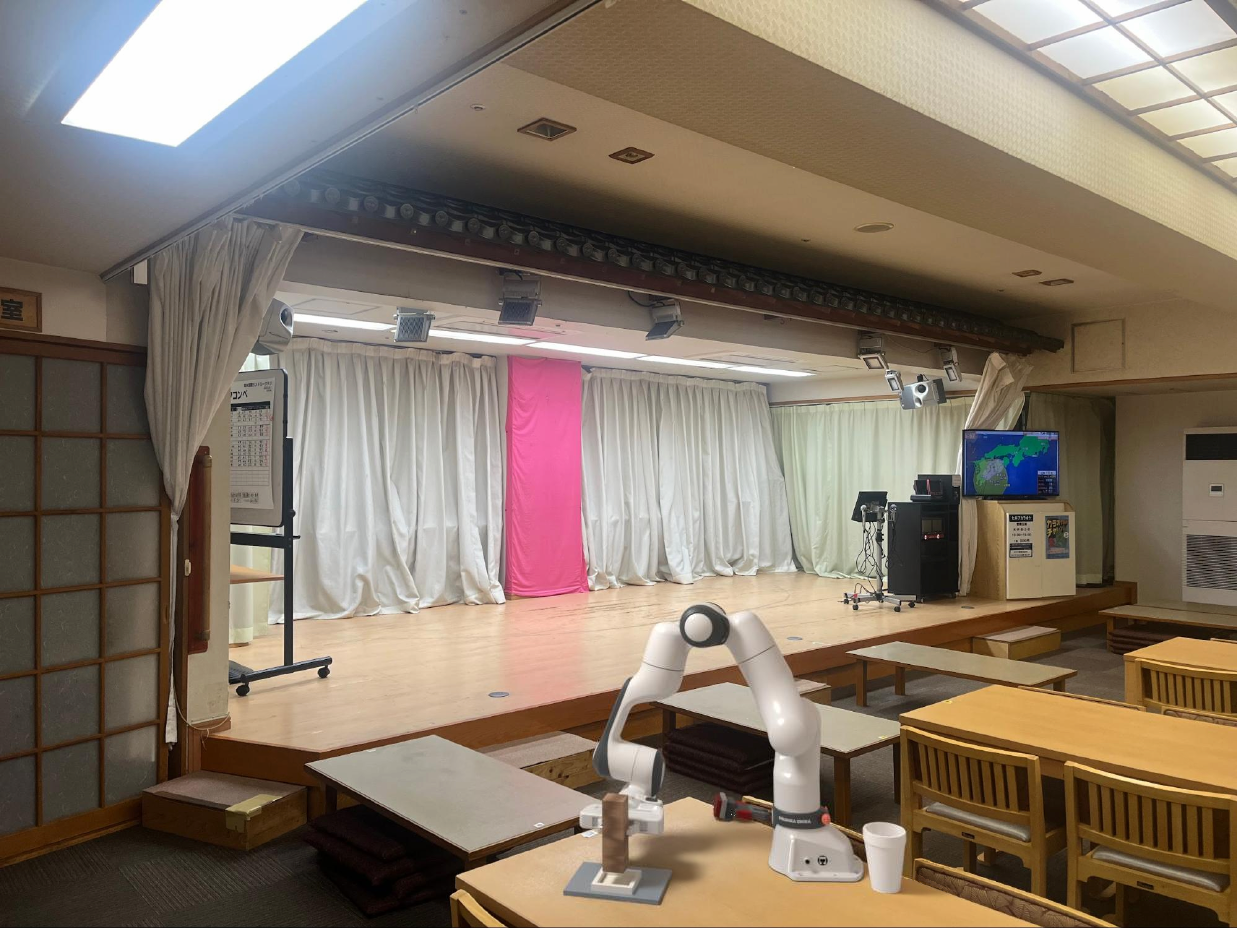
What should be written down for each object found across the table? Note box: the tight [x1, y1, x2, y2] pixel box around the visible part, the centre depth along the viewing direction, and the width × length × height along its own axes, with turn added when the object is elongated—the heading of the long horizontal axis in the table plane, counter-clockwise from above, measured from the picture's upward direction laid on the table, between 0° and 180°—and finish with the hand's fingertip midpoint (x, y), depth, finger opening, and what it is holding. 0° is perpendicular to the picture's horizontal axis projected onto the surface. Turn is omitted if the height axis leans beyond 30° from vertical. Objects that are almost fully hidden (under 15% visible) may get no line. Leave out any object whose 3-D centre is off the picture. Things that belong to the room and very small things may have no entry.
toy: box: [712, 791, 771, 822], centre depth 240 cm, size 9×6×15 cm
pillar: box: [601, 792, 630, 874], centre depth 198 cm, size 5×5×16 cm
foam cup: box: [862, 821, 907, 895], centre depth 196 cm, size 10×9×13 cm
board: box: [562, 861, 673, 906], centre depth 199 cm, size 22×16×1 cm
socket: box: [591, 868, 641, 895], centre depth 197 cm, size 10×10×2 cm
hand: (614, 831), depth 197 cm, fingers closed on pillar, 5 cm apart
